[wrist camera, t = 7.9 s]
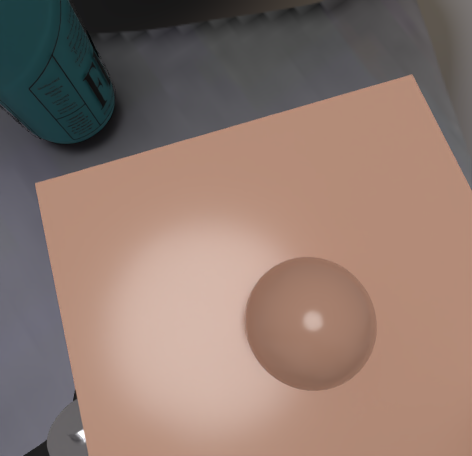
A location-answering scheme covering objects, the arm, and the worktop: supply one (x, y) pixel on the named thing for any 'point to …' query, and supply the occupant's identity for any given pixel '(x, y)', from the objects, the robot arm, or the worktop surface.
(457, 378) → the knobbed peach block
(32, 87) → the beverage bottle
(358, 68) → the worktop surface
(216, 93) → the worktop surface
